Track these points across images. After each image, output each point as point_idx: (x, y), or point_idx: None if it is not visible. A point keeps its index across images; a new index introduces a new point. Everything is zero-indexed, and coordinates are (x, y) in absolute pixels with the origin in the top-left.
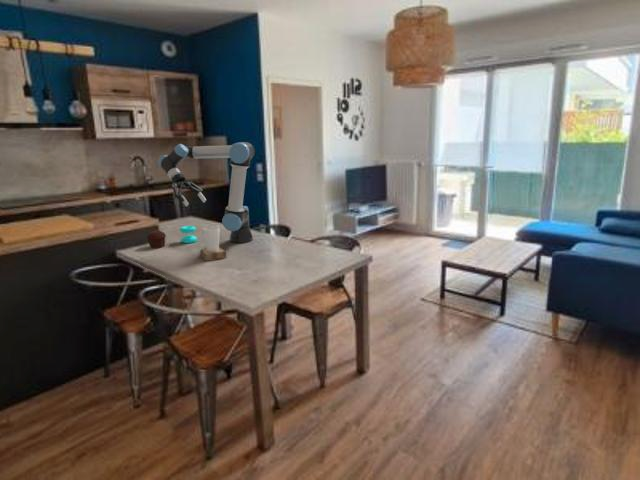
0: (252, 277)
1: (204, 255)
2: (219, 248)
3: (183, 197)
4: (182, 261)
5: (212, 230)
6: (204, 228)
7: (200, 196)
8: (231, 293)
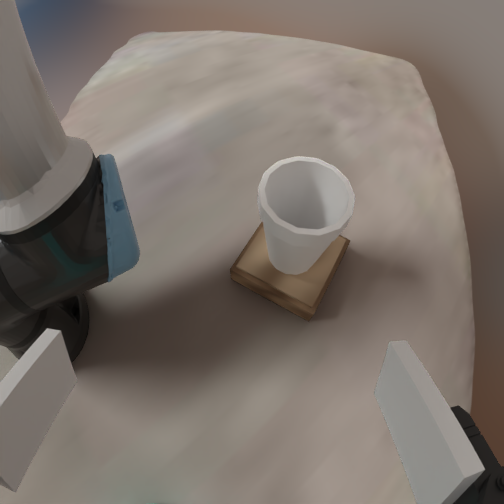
0: (345, 92)
1: (345, 250)
2: (259, 245)
3: (460, 428)
4: (394, 325)
5: (329, 165)
6: (328, 226)
7: (25, 428)
8: (415, 93)
